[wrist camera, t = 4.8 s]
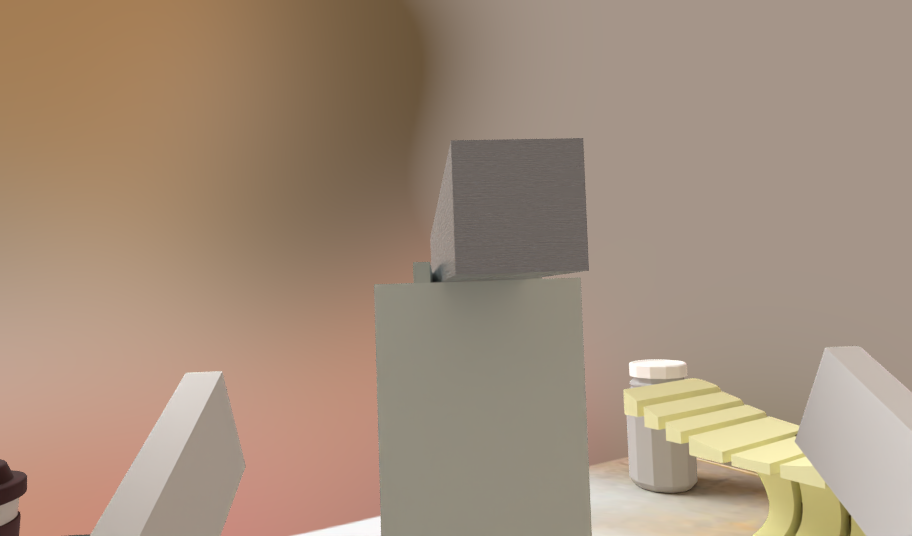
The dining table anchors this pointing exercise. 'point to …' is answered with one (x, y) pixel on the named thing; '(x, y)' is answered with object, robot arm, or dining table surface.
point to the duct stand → (482, 407)
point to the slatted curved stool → (746, 452)
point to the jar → (658, 437)
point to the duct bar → (510, 211)
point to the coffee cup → (10, 499)
